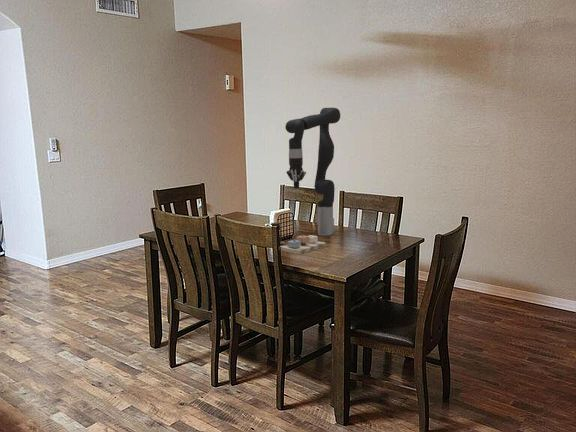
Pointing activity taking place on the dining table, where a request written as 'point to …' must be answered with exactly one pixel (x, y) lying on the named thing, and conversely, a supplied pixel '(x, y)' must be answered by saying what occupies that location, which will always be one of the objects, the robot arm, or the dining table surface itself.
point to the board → (303, 247)
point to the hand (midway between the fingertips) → (296, 188)
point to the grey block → (294, 243)
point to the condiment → (279, 229)
